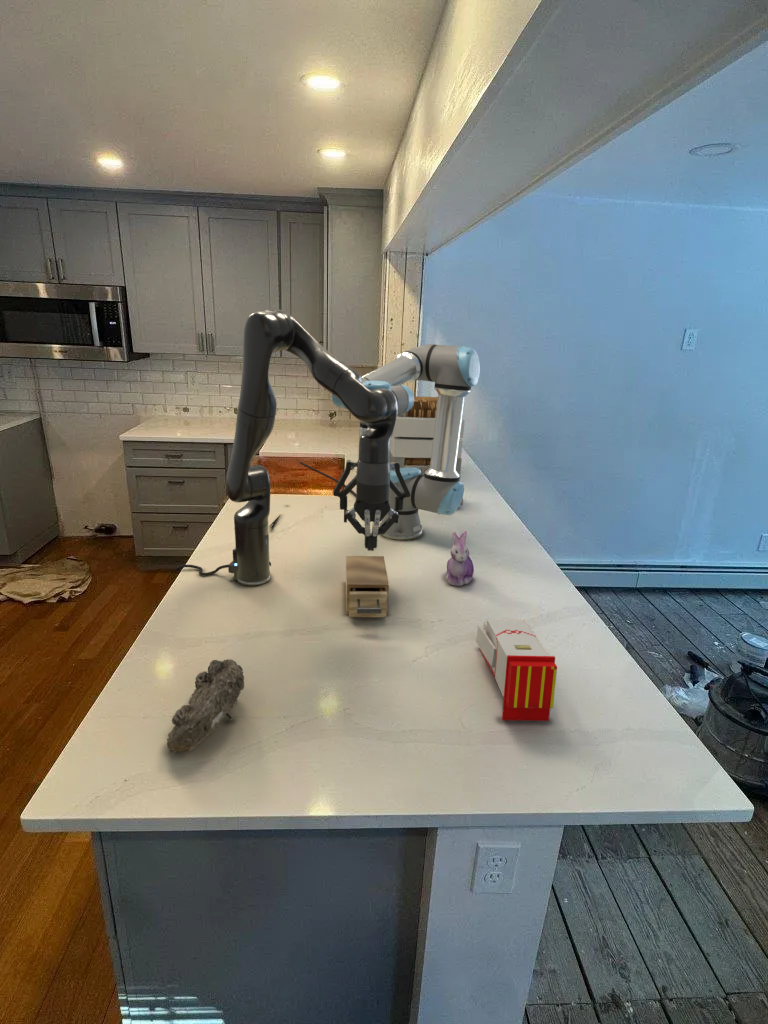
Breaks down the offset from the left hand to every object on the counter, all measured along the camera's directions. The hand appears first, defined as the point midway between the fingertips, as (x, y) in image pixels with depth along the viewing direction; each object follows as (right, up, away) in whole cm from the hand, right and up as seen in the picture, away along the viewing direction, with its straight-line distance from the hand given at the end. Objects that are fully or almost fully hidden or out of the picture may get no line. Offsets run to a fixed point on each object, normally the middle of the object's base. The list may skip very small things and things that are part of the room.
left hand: (370, 549), depth 134 cm
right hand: (0, +6, +18) cm, 19 cm away
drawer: (-1, -16, +14) cm, 22 cm away
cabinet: (-2, -15, +21) cm, 26 cm away
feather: (-36, +6, +75) cm, 84 cm away
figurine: (+25, -11, +34) cm, 44 cm away
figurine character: (+31, +12, +98) cm, 104 cm away
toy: (+30, -27, -11) cm, 42 cm away
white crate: (+20, +28, +141) cm, 145 cm away
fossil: (-30, -30, -26) cm, 50 cm away
